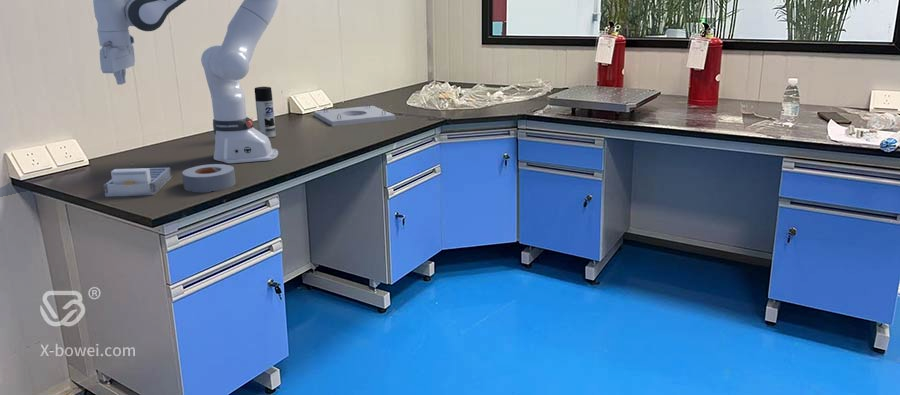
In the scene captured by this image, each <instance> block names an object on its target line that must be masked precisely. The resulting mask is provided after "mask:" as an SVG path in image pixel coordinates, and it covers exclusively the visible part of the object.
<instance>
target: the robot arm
mask: <svg viewBox="0 0 900 395" xmlns="http://www.w3.org/2000/svg"><path fill="white" fill-rule="evenodd" d="M186 1H187V0H92V4H93V13H94V18H95V20H96V22H97V28H96V32H97V35H98V42H99V43H98V44H99V46H100V47H101V48H100V49H99V63H100V70H101V71H102V73H103V74H113V76H114V78H115V81H116V84H117V85H124V84H125V83H126V73H127V70H126V69H128V68H132V67H134V66H135V62H136V59H135V56H136V55H135V48H134V45H133V44H135V39H134V36H132V35H131V34H130V31H129V27H135V28H136V29H138V30H140V31H143V32H154V31H156V30H158V29H159V28H160V27H162V25H163V23H164V22H165V20H166V18H167V17H168V15H169V14H170V13H171V12H172V11H173V10H176V8H178V7H179V6H181V5H182V4H183V3H185V2H186ZM278 5H279V0H243V1H242V2H241V4H240V6H239V7H238V9H237V10H236V12H235V13H234V15H233V17H231V20H230V22H228V24H227V30H226V34H225V36H224V38H223V42H222V43H221V44H220V45H212V46H210V47H208V48H207V49H205V50H204V51H203V52H202V54H201V58H200V62H201V66H202V68H203V70H204V74H205V78H206V82H207V86H208V89H209V93H210V98H211V106H212V113H213V119H212V126H213V133H214V137H215V139H214V141H215V142H214V152H213V154H214V155H213V160H215V161H219V162H223V163H225V164H238V163H240V164H241V163H250V162H251V163H252V162H264V161H265V162H266V161H272V160H274V159H276V158H277V157H279V151H278V149H276V148H273V146H272V143H271V140H270V138H268V137H267V136H266V135H264V134H262V133H261V132H259V130H258V129H257V128H254V122H253V120H254V119H253V118H250V117H248V116H247V109H246V100H245V94H244V91H243V90H242V87H241V83H240V80H243V79H244V78H245V77H246V76H247V75H248V73H249V71H250V70H249V69H250V62H251V59H252V57H253V54H254V51H255V48H256V47H257V44H259V40H260V39H261V37H262V36H263V34H264V33H265V31H266V29H267V28H268V26H269V25H270V23H271V21H272V19H273V17H274V15H275V12H276V10H277V8H278Z"/></svg>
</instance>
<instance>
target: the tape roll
mask: <svg viewBox="0 0 900 395" xmlns="http://www.w3.org/2000/svg"><path fill="white" fill-rule="evenodd" d="M181 175H182V182H183V189H184V190H185V191H187V192H190V191H192V193H211V191H214V192H220V191H223V190H224V191H225V190H228V189H230V188H232V187H233V186H235V185H236V174H235V167H234V166H233V165H230V164H229V165H228V164H223V163H219V164H218V163H214V164H211V163H210V164H203V165H202V164H201V165H196V166H193V167H189V168H186V169H184V170H183V171H182V172H181ZM219 190H220V191H219Z"/></svg>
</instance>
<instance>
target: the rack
mask: <svg viewBox="0 0 900 395" xmlns="http://www.w3.org/2000/svg"><path fill="white" fill-rule="evenodd" d="M149 169H150V176H151V183H135V181H132V182H123V184H113V181H112V178H111V179H110V180H109V181H107V182H106V183H104V184H103V186H102V187H103V191H104V197H106V198H107V197H108V198H109V197H131V196H132V197H135V196H136V197H138V196H140V197H141V196H142V197H143V196H155V195H157V193H158V192H160V190H161V189H162V188H164V186H166V185H167V183H168V182H169V181H170V180H172V179H173V177H172V169H171V167H149Z"/></svg>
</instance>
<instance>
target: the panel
mask: <svg viewBox="0 0 900 395" xmlns="http://www.w3.org/2000/svg"><path fill="white" fill-rule="evenodd" d="M149 168H150V167H149ZM149 168H148V167H147V168H145V167H144V168H143V167H141V168H114V169H113V170H111V171H110V175H111V179H112V181H113V184H123V182H132V181H135V183H151V176H150V169H149Z"/></svg>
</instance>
